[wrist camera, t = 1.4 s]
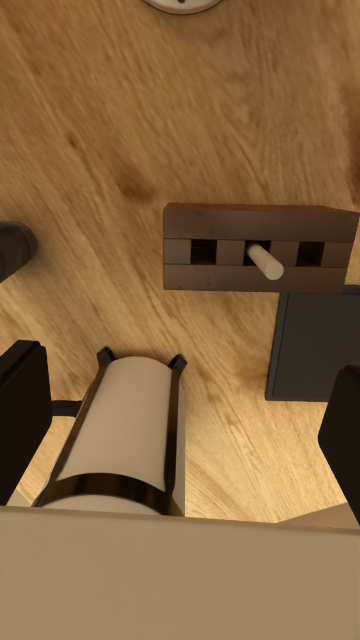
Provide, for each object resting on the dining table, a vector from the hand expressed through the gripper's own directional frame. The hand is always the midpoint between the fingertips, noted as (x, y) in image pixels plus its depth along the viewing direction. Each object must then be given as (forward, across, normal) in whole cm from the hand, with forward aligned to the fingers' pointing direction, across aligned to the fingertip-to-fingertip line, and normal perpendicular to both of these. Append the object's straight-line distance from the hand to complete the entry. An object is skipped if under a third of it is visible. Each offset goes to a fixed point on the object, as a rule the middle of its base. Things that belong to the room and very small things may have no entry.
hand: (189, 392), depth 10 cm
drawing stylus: (+27, -6, -1) cm, 28 cm away
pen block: (+27, -6, -1) cm, 28 cm away
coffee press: (+28, +6, +20) cm, 34 cm away
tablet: (+27, -23, +11) cm, 37 cm away
